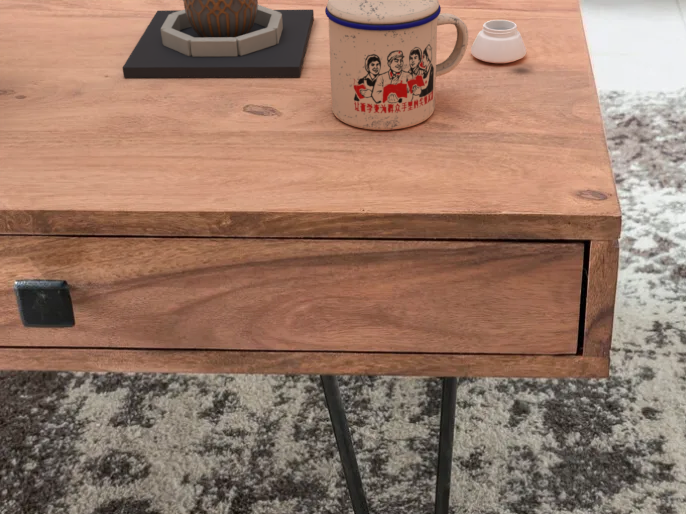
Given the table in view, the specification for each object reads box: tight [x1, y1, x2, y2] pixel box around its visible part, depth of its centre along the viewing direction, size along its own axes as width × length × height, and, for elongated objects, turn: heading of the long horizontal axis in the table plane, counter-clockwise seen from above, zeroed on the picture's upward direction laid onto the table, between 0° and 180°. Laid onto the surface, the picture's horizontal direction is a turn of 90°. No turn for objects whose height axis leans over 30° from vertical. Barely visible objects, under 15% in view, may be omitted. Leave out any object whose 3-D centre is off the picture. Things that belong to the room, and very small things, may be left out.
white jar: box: [470, 19, 527, 64], centre depth 96 cm, size 5×3×5 cm
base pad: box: [122, 4, 315, 79], centre depth 100 cm, size 16×16×2 cm
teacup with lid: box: [324, 0, 469, 131], centre depth 85 cm, size 12×9×12 cm
